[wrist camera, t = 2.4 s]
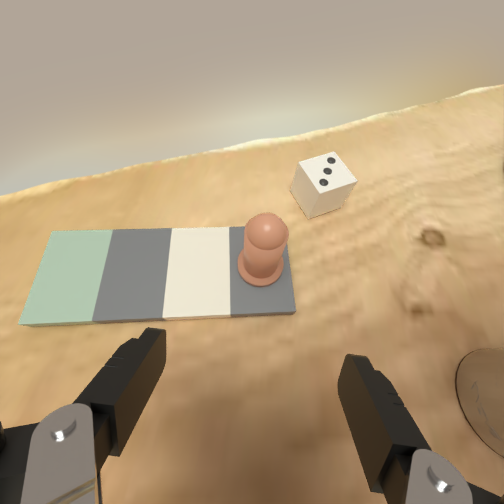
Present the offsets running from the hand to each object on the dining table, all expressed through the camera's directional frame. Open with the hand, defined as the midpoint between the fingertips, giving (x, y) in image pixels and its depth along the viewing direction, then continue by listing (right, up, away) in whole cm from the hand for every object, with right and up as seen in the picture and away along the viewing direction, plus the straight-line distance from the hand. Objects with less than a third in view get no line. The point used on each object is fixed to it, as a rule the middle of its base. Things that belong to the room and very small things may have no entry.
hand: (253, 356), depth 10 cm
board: (-9, +2, +16) cm, 18 cm away
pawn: (+1, +3, +15) cm, 15 cm away
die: (+8, +12, +21) cm, 26 cm away
